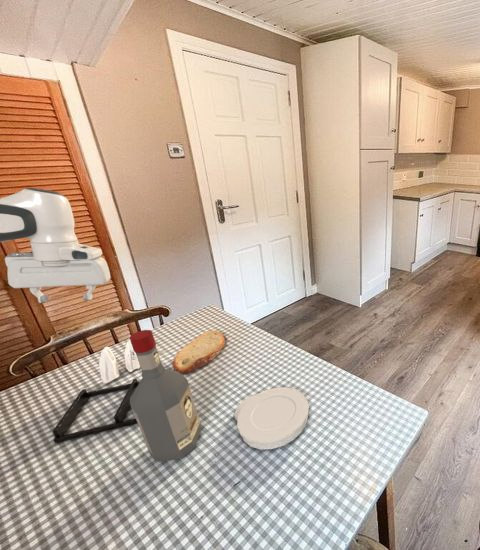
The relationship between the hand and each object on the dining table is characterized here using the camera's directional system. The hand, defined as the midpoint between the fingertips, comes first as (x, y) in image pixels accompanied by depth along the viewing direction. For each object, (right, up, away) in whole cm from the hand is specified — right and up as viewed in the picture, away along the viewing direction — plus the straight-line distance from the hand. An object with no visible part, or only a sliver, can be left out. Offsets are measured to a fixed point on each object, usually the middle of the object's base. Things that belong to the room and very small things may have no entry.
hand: (66, 300), depth 84 cm
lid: (+59, -30, -7) cm, 66 cm away
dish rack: (+16, -28, -3) cm, 33 cm away
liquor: (+39, -33, -13) cm, 53 cm away
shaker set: (+8, -24, +9) cm, 27 cm away
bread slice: (+27, -20, +19) cm, 38 cm away
